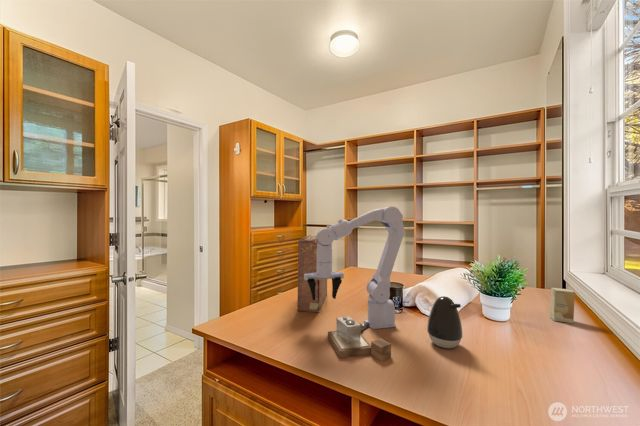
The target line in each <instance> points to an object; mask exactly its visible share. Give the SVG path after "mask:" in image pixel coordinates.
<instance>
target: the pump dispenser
mask: <svg viewBox="0 0 640 426" xmlns="http://www.w3.org/2000/svg"><path fill="white" fill-rule="evenodd" d="M458 308H462V306H461V303H455V302H454V301H453V299H452V298H450V297H448V296H446V295H445V296H440V297H438V298H436V299H435V301H434V303H433V305H432V307H431V310H430V313H429V317H428V320H427V326H426V328H427V330H426V331H427V333H428V337H429V339H430V340H431V342H432V343H433V344H434V345H436V346H438V347H440V348H443V349H453V348H456V347H457V346H458V345H459V344H460V343H461V340H462V339H463V337H464V336H463V327H462V326H463V325H462V320H461V317H460V314H459V311H458Z"/></svg>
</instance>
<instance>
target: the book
mask: <svg viewBox="0 0 640 426" xmlns="http://www.w3.org/2000/svg"><path fill="white" fill-rule="evenodd" d="M297 242H298V247H297V252H298V253H297V255H298V256H297V312H306V313H320V312H321V310H322V307H323V305H324V302H325V300H326V297H327V296H328V279H314V280H315V283H316V286H315V300H313V299H312V294H311V290H310V287H309V284H308V282H307V280H305V279H304V274H309V273H316V266H317V242H318V241H317V239H316V235H311V234H308V235H306V236H304V237H302V238H299V239H298V241H297Z"/></svg>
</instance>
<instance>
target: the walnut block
mask: <svg viewBox="0 0 640 426" xmlns="http://www.w3.org/2000/svg"><path fill="white" fill-rule="evenodd" d="M370 345H371V354H370V355H371V356H372V357H374V358H375V359H377V360H378V361H380V362H382V361H385V360H387V359H389V358H391V357H392V343H391V342H388V341H387V340H385V339H383V338H377V339H375V340H372V341H371V342H370Z"/></svg>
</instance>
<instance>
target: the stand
mask: <svg viewBox="0 0 640 426" xmlns="http://www.w3.org/2000/svg"><path fill="white" fill-rule="evenodd" d="M327 338H328V341H329V342H330V344H331V345H332V347H333V348H334V351H335V352H336V354H337V356H338V358H339V359H344V358H350V357H360V356H368V355H371V343H369V342H368V341H367V339H366V338H365V337H364V336H363V335H362V334H361V333H360V342H355V343H350V344H347V343H346V342H345V341H344V340H343V339H342V338H341V337H340V336H339V335H338V334H336V330H332V331H330V330H329V331H327Z"/></svg>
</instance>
